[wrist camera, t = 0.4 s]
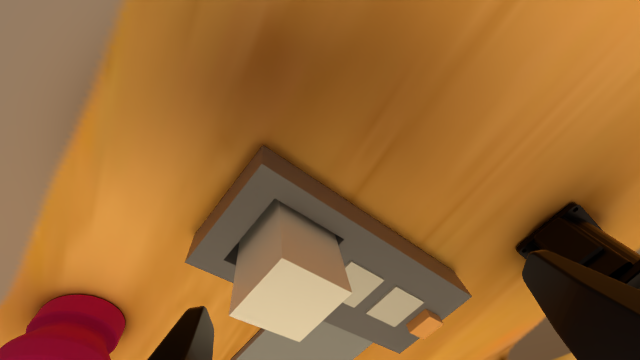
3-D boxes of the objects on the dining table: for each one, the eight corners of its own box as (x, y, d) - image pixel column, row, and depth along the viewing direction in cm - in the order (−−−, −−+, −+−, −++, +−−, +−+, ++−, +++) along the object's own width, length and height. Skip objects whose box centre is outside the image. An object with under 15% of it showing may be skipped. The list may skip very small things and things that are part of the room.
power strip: (451, 267, 29) (477, 304, 26) (387, 321, 32) (402, 361, 28) (263, 142, 21) (261, 169, 17) (196, 230, 23) (181, 271, 19)
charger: (331, 221, 23) (352, 292, 17) (291, 263, 25) (298, 343, 19) (278, 189, 21) (282, 257, 15) (239, 237, 23) (228, 316, 17)
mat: (379, 330, 32) (381, 335, 31) (314, 385, 35) (314, 391, 34) (296, 292, 27) (296, 298, 27) (230, 360, 30) (229, 366, 30)
